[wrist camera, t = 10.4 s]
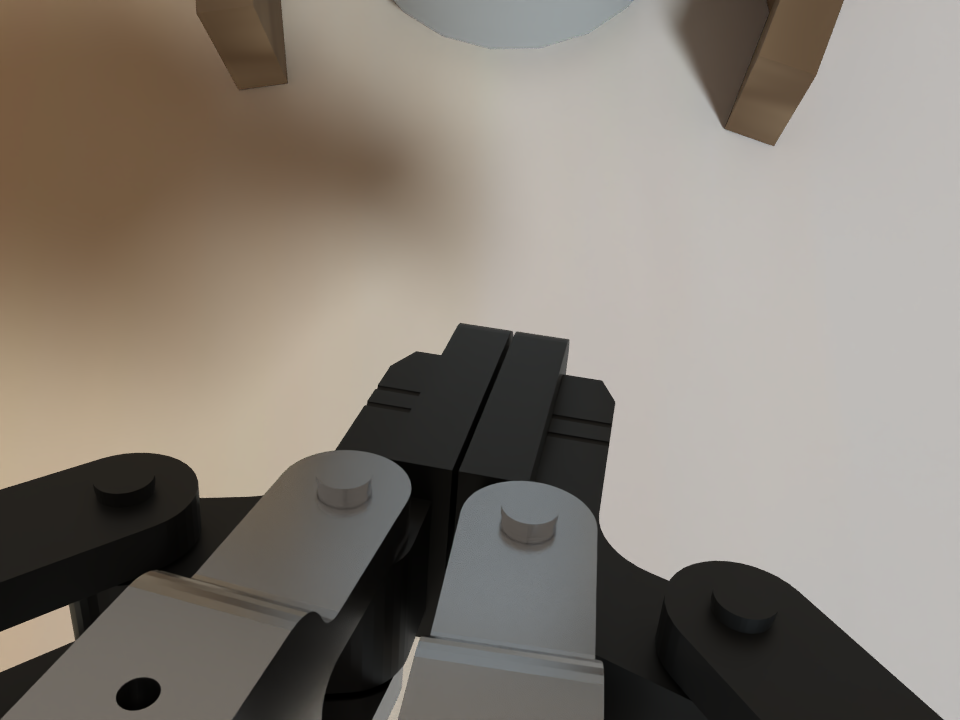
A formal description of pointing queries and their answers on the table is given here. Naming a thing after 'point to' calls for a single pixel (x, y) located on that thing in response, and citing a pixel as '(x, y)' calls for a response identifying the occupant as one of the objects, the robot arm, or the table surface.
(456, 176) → the table surface
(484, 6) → the can
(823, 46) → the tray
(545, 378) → the robot arm
